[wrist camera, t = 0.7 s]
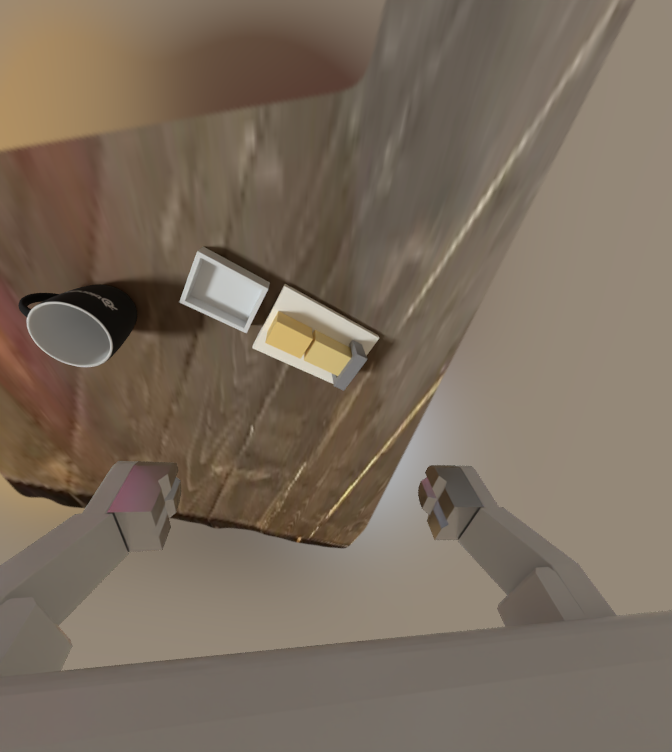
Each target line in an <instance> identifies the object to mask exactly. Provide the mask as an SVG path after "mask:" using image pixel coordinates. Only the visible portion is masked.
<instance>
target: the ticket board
mask: <svg viewBox="0 0 672 752" xmlns="http://www.w3.org/2000/svg"><path fill="white" fill-rule="evenodd" d="M278 311H279V312H281V313H283V314H285V315H287V316H289V317H291V318H293V319H295V320H297V321H299V322H301V323H303V324H305V325H307V326H309V327H311V328H312V335H313V340H312V341H311V343H310V345H309V346H308V348H307V349H306V351H305V353H304V354H303V356H302V357H301V359H299V358H297V357H295V356H293V355H291V354H288V353H286V352H284V351H282V350H280V349H278V348H275V347H273V346H271V345H269V344H267V343H265V341H266V336H267V331H268V329H269V327H270V326H271V324H272V322H273V320H274V318H275V316H276V314H277V312H278ZM378 339H379V336H378V335H377V334H375V333H373V332H372V331H370V330H368V329H366V328H364V327H363V326H361V325H359V324H357V323H355V322H354V321H352V320H350V319H348V318H346V317H344V316H343V315H341V314H339V313H337V312H335V311H334V310H332V309H330V308H328V307H326V306H325V305H323V304H321V303H319V302H317V301H316V300H314V299H312V298H310V297H308V296H307V295H305V294H303V293H301V292H299V291H298V290H296V289H294V288H292V287H290V286H288V285H287V284H284V286H283V288H282V290H281V292H280V294H279V296H278V298H277V300H276V302H275V304H274V305H273V307H272V309H271V311H270V313H269V315H268V317H267V319H266V321H265V323H264V325H263V327H262V328H261V330H260V332H259V334H258V336H257V338H256V340H255V342H254V344H253V347H252V348H253V349H256V350H258V351H260V352H262V353H265V354H267V355H269V356H271V357H274V358H276V359H278V360H280V361H283V362H285V363H287V364H289V365H292V366H294V367H296V368H298V369H301V370H303V371H305V372H307V373H310V374H312V375H314V376H316V377H319V378H321V379H323V380H326V381H328V382H330V383H332V384H334V386H335V387H337V388H339V389H342V390H345V388H346V387H347V386H348V384H349V383H350V382H351V381H352V379H353V378H354V377H355V375H356V374H357V373H358V371H359V370H360V369H361V367H362V366H363V365H364V363H365V362H366V361H367V357H366V355H367V354H368V353H369V351H370V350H371V349H372V347H373V346H374V345H375V343H376V342H377V341H378Z"/></svg>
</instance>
